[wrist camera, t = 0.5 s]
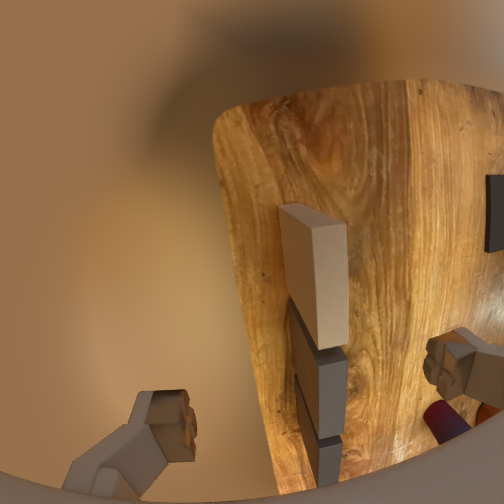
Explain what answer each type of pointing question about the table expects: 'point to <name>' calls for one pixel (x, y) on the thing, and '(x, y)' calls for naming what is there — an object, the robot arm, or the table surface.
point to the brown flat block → (317, 271)
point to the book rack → (495, 213)
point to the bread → (486, 413)
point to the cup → (444, 422)
